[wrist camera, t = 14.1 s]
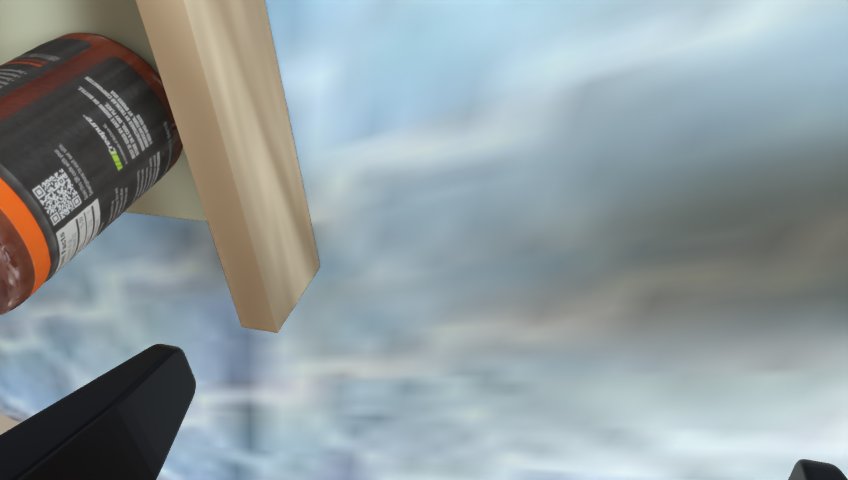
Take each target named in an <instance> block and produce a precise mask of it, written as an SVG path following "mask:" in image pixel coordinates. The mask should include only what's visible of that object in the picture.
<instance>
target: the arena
mask: <svg viewBox="0 0 848 480" xmlns="http://www.w3.org/2000/svg"><path fill="white" fill-rule="evenodd" d="M70 33H91V34H98V35H101V36H105V37H107V38H110V39H112V40H114V41H116V42H118V43H120V44H122V45H124V46H125V47H127V48H129V49H131V50H132V51H133V52H134V53H136V54H137V55H139V56H140V57H141V58H143V59H144V60H145V61H146V62H147V63H148V64H149V65H151V66H152V68H153V69H154V70H155V71H156V72H157V73H158V74H159V76H160V77H161V79H162V83H163V86H164V89H165V92H166V95H167V98H168V101H169V104H170V107H171V110H172V113H173V116H174V120H175V123H176V126H177V129H178V132H179V135H180V138H181V141H182V144H183V149H182V151H181V155H180V157H179V158H178V160H177V162H176V164H175V165H174V166H173V167H172V168H171V169H170V170H169V171H168V172H167V173H166V174H165V175H164V176H163V177H162V179H160V180H159V181H158V182H157V183H156V184H155V185H153V186H152V187H151V188H150V189H149V190H148V191H147V192H146V193H144V194H143V195H142V196H141V197H140V198H139V199H138V200H136V201H135V202H134V203H133V204H132V205H131V206H130V207H129V208H128V209H127V210H126V211H124V212H131V213H139V214H148V215H156V216H164V217H173V218H181V219H189V220H198V221H206V222H208V224H209V227H210V231H211V234H212V237H213V240H214V243H215V246H216V249H217V252H218V255H219V258H220V261H221V265H222V268H223V271H224V274H225V277H226V280H227V283H228V286H229V289H230V292H231V295H232V298H233V302H234V305H235V308H236V311H237V314H238V317H239V320H240V323H241V326H242V327H245V328H251V329H257V330H263V331H269V332H274V333H278V331H279V330H280V328H281V327H282V325H283V324H284V322H285V320H286V319H287V317H288V316H289V314H290V313H291V311H292V310H293V308H294V306H295V305H296V303H297V302H298V300H299V299H300V297H301V296H302V294H303V293H304V291H305V289H306V288H307V286H308V285H309V283H310V282H311V280H312V279H313V277H314V276H315V274H316V272H317V271H318V269H319V268H320V264H319V259H318V254H317V249H316V244H315V240H314V235H313V230H312V225H311V220H310V216H309V211H308V206H307V201H306V197H305V192H304V187H303V182H302V177H301V173H300V168H299V163H298V158H297V153H296V149H295V144H294V139H293V134H292V129H291V125H290V120H289V115H288V110H287V105H286V101H285V96H284V91H283V86H282V81H281V77H280V72H279V67H278V62H277V57H276V53H275V48H274V43H273V38H272V34H271V29H270V24H269V19H268V14H267V10H266V5H265V0H0V65H2V64H4V63H6V62H8V61H11V60H12V59H14V58H16V57H18V56H20V55H22V54H24V53H25V52H27V51H29V50H32V49H34V48H35V47H37V46H39V45H41V44H43V43H46V42H48V41H51V40H54V39H56V38H58V37H60V36H63V35H66V34H70Z"/></svg>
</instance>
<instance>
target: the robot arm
mask: <svg viewBox="0 0 848 480" xmlns="http://www.w3.org/2000/svg"><path fill="white" fill-rule="evenodd" d="M195 389H196V381H195V378H194V375H193V373H192V371H191V368H190V366H189V363H188V361H187V358H186V356H185V353H184V352H183V350H182V349H181V348H179V347H176V346H170V345H165V344H156V345H153V346H151V347H149V348H148V349H146V350H144V351H142V352H141V353H139V354H137V355H136V356H134V357H132V358H131V359H129V360H127V361H125V362H124V363H122V364H120V365H119V366H117V367H115V368H114V369H112V370H110V371H108V372H107V373H105V374H103V375H102V376H100V377H98V378H97V379H95V380H93V381H91V382H90V383H88V384H86V385H85V386H83V387H81V388H80V389H78V390H76V391H74V392H73V393H71V394H69V395H68V396H66V397H64V398H63V399H61V400H59V401H57V402H56V403H54V404H52V405H51V406H49V407H47V408H46V409H44V410H42V411H40V412H39V413H37V414H35V415H34V416H32V417H30V418H29V419H27V420H25V421H23V422H22V423H20V424H18V425H17V426H15V427H13V428H12V429H10V430H8V431H7V432H5V433H3V434H1V435H0V480H156V479H157V477H158V475H159V473H160V471H161V469H162V466H163V464H164V462H165V460H166V457H167V455H168V453H169V451H170V448H171V446H172V444H173V442H174V439H175V437H176V435H177V433H178V430H179V428H180V426H181V424H182V421H183V419H184V417H185V415H186V412H187V410H188V408H189V405H190V403H191V401H192V399H193V396H194V393H195ZM788 480H848V479H847V478H846V477H845V475H844V474H843V473H842V471H841V470H840V469H839V468H837V467H836V466H834V465H832V464H829V463H824V462H818V461H812V460H807V459H801V460H799V461H798V462H797V463H796V464H795V466H794V468H793V471H792V473H791V475H790V477H789V479H788Z"/></svg>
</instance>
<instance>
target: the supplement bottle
mask: <svg viewBox="0 0 848 480" xmlns="http://www.w3.org/2000/svg"><path fill="white" fill-rule="evenodd" d="M182 149H183V144H182V141H181V138H180V135H179V132H178V129H177V126H176V123H175V120H174V116H173V113H172V110H171V107H170V104H169V101H168V98H167V95H166V92H165V89H164V86H163V83H162V79H161V77H160V76H159V74H158V73H157V72H156V71H155V70H154V69H153V68H152V66H151V65H149V64H148V63H147V62H146V61H145V60H144V59H143V58H141V57H140V56H139V55H137V54H136V53H134V52H133V51H132V50H131V49H129V48H127V47H125V46H124V45H122V44H120V43H118V42H116V41H114V40H112V39H110V38H107V37H105V36H101V35H98V34H91V33H70V34H66V35H63V36H60V37H58V38H56V39H54V40H51V41H48V42H46V43H43V44H41V45H39V46H37V47H35V48H34V49H32V50H29V51H27V52H25V53H24V54H22V55H20V56H18V57H16V58H14V59H12V60H11V61H8V62H6V63H4V64H2V65H0V315H2V314H4V313H7V312H9V311H11V310H13V309H14V308H16V307H18V306H19V305H20V304H22V303H23V302H24V301H25V300H26V299H27V298H29V297H30V296H31V295H32V294H33V293H34V292H35V291H36V290H37V289H38V288H39V287H40V286H41V285H42V284H43V283H44V282H46V281H47V280H49V279H50V278H51V277H52V276H53V275H54V274H55V273H57V272H58V271H59V270H60V269H61V268H62V267H63V266H64V265H65V264H66V263H68V262H69V261H70V260H71V259H72V258H73V257H74V256H75V255H76V254H78V253H79V252H80V251H81V250H82V249H83V248H84V247H85V246H86V245H88V244H89V243H90V242H91V241H92V240H93V239H94V238H95V237H96V236H98V235H99V234H100V233H101V232H102V231H103V230H104V229H105V228H106V227H107V226H109V225H110V224H111V223H112V222H113V221H114V220H115V219H116V218H118V217H119V216H120V215H121V214H122V213H123V212H124V211H126V210H127V209H128V208H129V207H130V206H131V205H132V204H133V203H134V202H135V201H136V200H138V199H139V198H140V197H141V196H142V195H143V194H144V193H146V192H147V191H148V190H149V189H150V188H151V187H152V186H153V185H155V184H156V183H157V182H158V181H159V180H160V179H162V177H163V176H164V175H165V174H166V173H167V172H168V171H169V170H170V169H171V168H172V167H173V166H174V165H175V164H176V162H177V160H178V158H179V157H180V155H181V151H182Z"/></svg>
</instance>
